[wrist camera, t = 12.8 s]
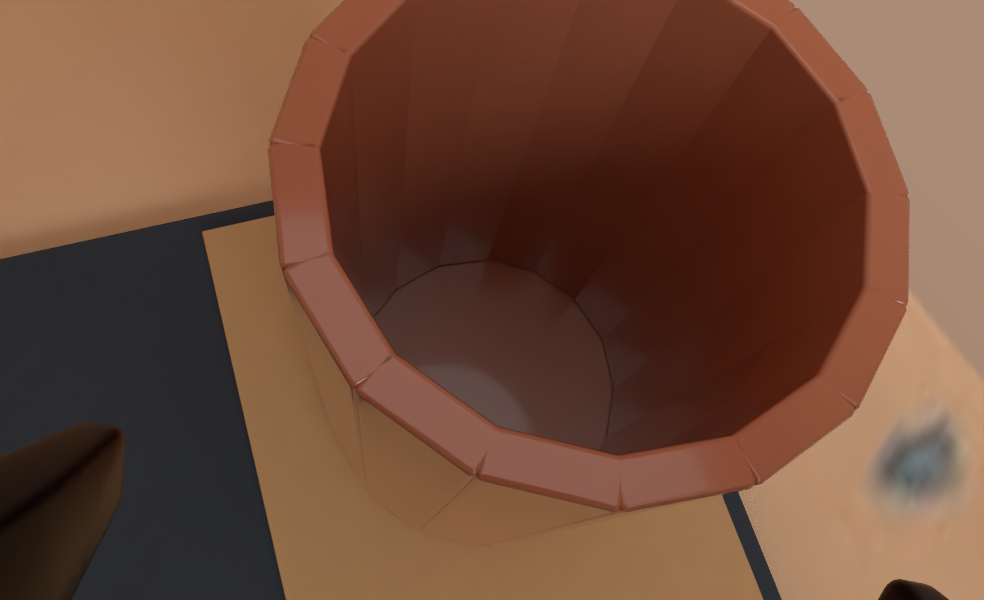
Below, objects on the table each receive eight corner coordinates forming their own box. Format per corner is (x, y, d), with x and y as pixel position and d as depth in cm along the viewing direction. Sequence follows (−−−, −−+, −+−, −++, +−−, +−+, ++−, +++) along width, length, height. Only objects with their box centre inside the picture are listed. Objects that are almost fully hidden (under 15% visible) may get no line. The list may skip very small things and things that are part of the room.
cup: (600, 575, 16) (907, 580, 7) (291, 504, 16) (169, 406, 6) (643, 290, 18) (914, 4, 9) (375, 222, 18) (373, -150, 9)
